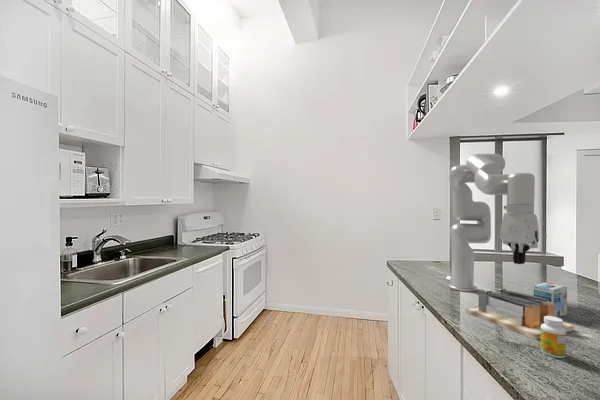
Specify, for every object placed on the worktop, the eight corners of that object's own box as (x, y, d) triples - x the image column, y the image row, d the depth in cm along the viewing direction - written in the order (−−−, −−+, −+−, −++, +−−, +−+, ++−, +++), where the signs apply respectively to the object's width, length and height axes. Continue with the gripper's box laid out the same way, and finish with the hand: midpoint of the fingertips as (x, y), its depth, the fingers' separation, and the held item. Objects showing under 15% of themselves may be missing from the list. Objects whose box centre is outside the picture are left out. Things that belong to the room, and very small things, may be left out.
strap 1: (484, 294, 111) (483, 291, 111) (489, 293, 112) (489, 290, 112) (529, 305, 97) (529, 301, 97) (535, 304, 98) (534, 300, 98)
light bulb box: (553, 319, 108) (554, 289, 108) (532, 312, 114) (532, 284, 114) (567, 314, 113) (568, 285, 113) (546, 308, 119) (546, 281, 119)
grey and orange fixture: (478, 310, 112) (478, 293, 112) (503, 305, 117) (503, 289, 117) (530, 329, 95) (530, 309, 95) (556, 322, 101) (556, 304, 101)
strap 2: (498, 292, 114) (498, 289, 114) (503, 291, 115) (503, 288, 116) (544, 302, 100) (544, 299, 100) (549, 301, 101) (549, 298, 101)
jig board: (465, 312, 113) (465, 308, 113) (500, 306, 121) (500, 302, 121) (536, 339, 91) (536, 334, 91) (573, 330, 99) (573, 325, 99)
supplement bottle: (535, 349, 85) (535, 314, 85) (552, 348, 86) (553, 314, 86) (552, 359, 80) (553, 322, 80) (571, 358, 80) (571, 322, 80)
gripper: (491, 208, 107) (490, 259, 107) (537, 210, 93) (536, 269, 93) (505, 208, 110) (504, 258, 110) (552, 210, 96) (551, 267, 96)
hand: (519, 263), depth 102 cm, fingers closed
